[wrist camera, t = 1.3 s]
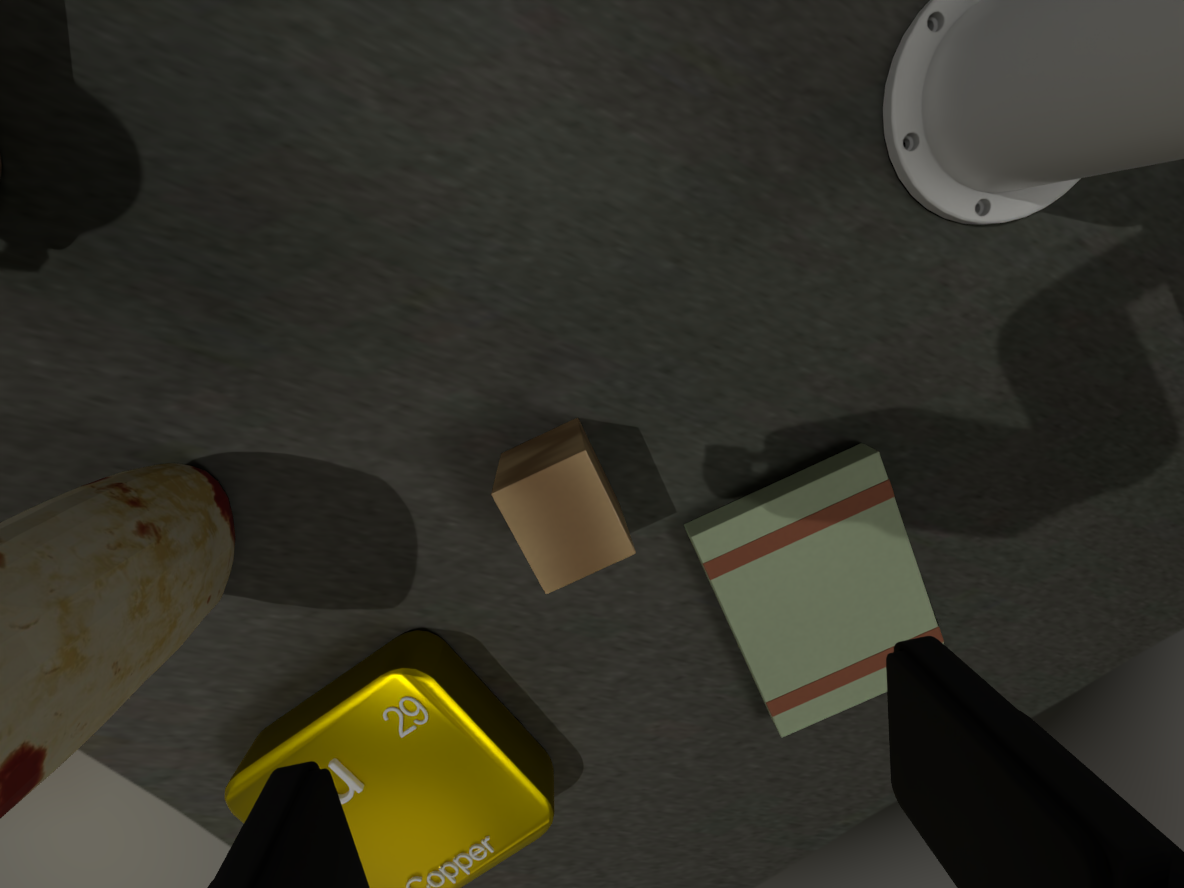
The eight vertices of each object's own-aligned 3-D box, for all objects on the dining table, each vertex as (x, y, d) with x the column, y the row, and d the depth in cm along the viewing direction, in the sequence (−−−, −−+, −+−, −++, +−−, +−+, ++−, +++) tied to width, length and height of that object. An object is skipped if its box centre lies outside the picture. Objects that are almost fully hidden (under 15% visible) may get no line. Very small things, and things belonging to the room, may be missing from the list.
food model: (271, 593, 37) (-26, 936, 18) (156, 600, 36) (-277, 961, 17) (242, 437, 34) (-144, 639, 15) (118, 443, 34) (-443, 659, 15)
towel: (861, 442, 37) (879, 451, 35) (932, 646, 42) (951, 664, 40) (683, 524, 38) (690, 537, 36) (770, 717, 42) (782, 738, 40)
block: (577, 417, 36) (585, 449, 29) (619, 503, 37) (636, 553, 30) (500, 453, 36) (490, 494, 29) (545, 538, 37) (546, 595, 31)
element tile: (394, 879, 43) (376, 951, 39) (241, 741, 39) (201, 803, 35) (565, 769, 42) (568, 829, 37) (424, 615, 38) (408, 661, 33)
